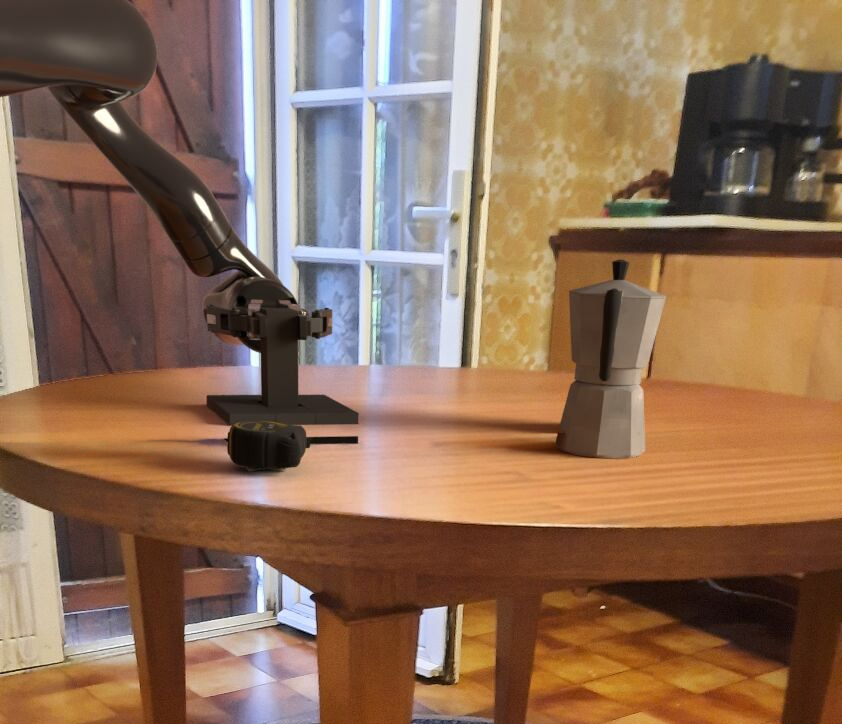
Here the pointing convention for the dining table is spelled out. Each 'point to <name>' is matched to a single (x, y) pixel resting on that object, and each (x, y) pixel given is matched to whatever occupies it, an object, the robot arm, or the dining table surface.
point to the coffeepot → (609, 367)
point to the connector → (280, 358)
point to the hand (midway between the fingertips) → (283, 328)
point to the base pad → (286, 413)
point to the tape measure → (266, 445)
